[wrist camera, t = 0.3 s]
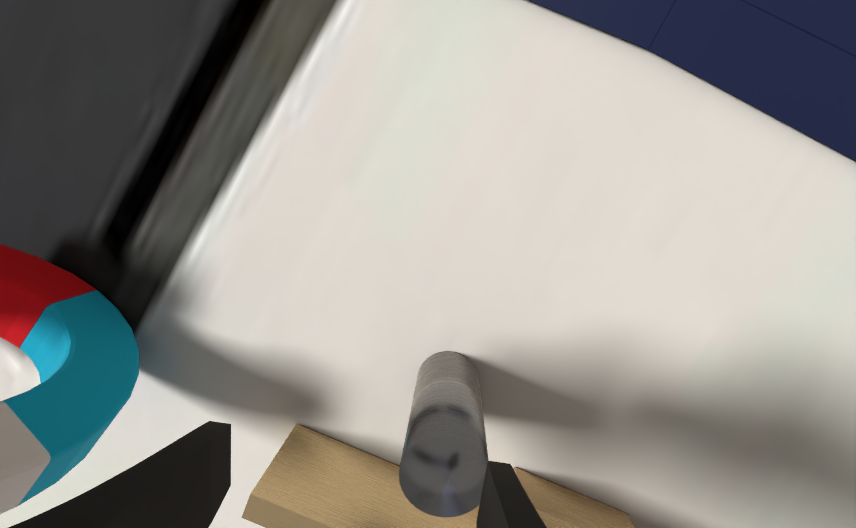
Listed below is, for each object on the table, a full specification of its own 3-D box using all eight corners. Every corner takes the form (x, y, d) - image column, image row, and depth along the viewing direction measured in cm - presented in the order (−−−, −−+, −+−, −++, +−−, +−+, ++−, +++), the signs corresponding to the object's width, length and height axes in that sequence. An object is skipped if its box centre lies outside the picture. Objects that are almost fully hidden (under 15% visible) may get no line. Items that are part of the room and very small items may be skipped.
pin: (464, 417, 21) (467, 530, 14) (408, 394, 21) (385, 496, 14) (489, 365, 21) (505, 458, 14) (431, 341, 21) (419, 422, 14)
